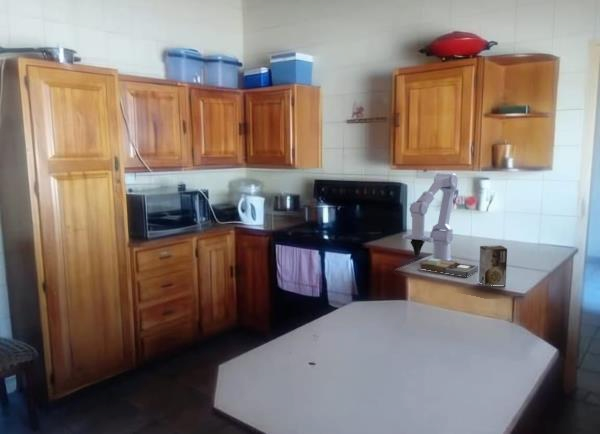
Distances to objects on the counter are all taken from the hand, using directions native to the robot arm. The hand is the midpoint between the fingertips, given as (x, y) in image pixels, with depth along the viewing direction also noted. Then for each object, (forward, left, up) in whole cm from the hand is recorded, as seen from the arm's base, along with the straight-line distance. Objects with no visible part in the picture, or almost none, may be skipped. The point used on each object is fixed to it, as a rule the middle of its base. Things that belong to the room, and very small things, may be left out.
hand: (417, 255), depth 228 cm
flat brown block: (-4, +10, -6) cm, 12 cm away
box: (-4, +21, -6) cm, 22 cm away
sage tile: (0, +9, -3) cm, 9 cm away
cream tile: (-5, +21, -3) cm, 22 cm away
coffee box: (+7, +38, -6) cm, 39 cm away
